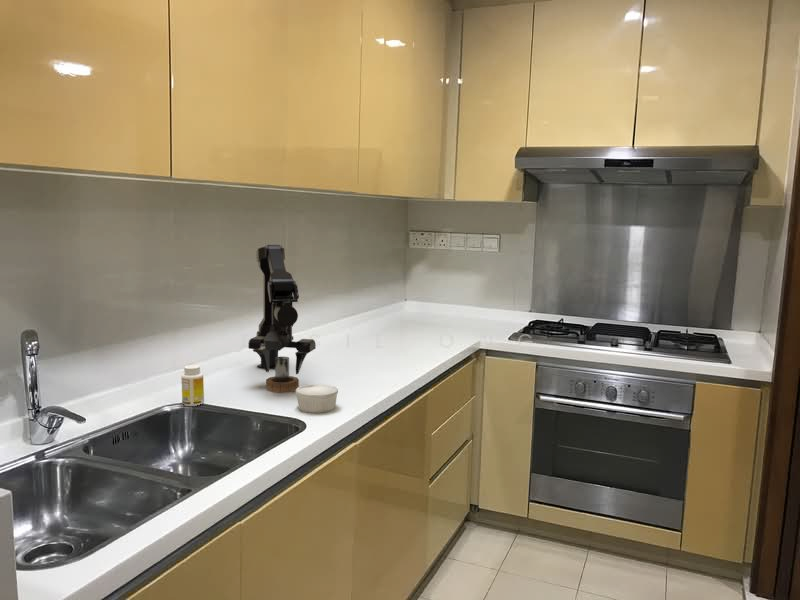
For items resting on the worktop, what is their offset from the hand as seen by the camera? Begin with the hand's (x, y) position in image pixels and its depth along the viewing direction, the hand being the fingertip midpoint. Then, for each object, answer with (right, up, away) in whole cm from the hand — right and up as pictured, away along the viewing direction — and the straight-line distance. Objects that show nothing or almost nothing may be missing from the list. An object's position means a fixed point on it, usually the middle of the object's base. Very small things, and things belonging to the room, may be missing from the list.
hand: (282, 373), depth 193 cm
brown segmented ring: (0, -4, +1) cm, 4 cm away
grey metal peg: (0, -5, +1) cm, 5 cm away
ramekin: (+12, -8, -18) cm, 23 cm away
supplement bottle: (-21, -7, -16) cm, 27 cm away
